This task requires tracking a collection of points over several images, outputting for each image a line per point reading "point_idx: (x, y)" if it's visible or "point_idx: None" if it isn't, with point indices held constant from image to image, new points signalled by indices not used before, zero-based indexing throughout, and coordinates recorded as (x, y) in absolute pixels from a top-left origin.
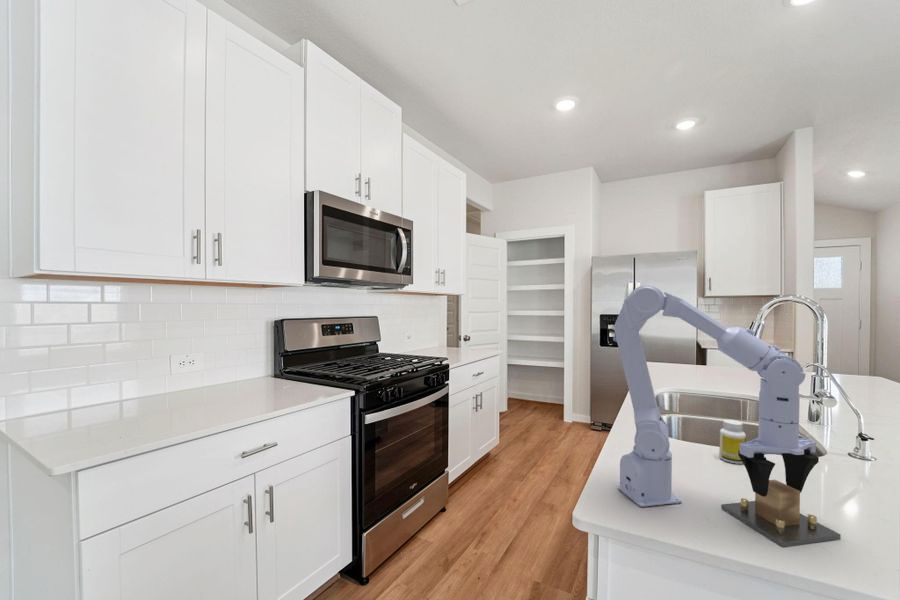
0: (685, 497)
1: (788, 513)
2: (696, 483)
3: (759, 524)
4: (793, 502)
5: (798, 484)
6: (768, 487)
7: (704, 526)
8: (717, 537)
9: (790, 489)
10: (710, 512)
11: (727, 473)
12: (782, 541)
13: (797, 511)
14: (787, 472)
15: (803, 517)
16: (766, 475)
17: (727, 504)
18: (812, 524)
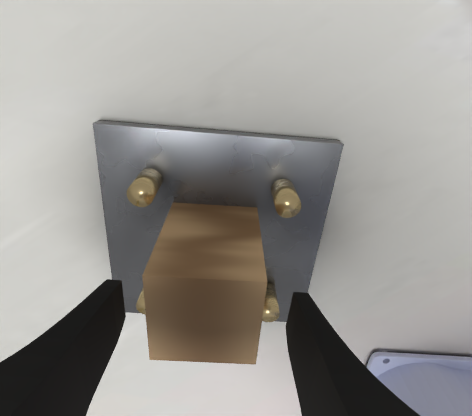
0: None
1: (216, 226)
2: (236, 398)
3: (302, 231)
4: (189, 246)
5: (106, 309)
6: (255, 325)
7: (436, 267)
8: (463, 223)
9: (171, 294)
10: (345, 307)
11: (104, 413)
12: (337, 148)
13: (175, 224)
14: (94, 379)
15: (120, 224)
16: (356, 377)
17: (281, 319)
18: (154, 178)
